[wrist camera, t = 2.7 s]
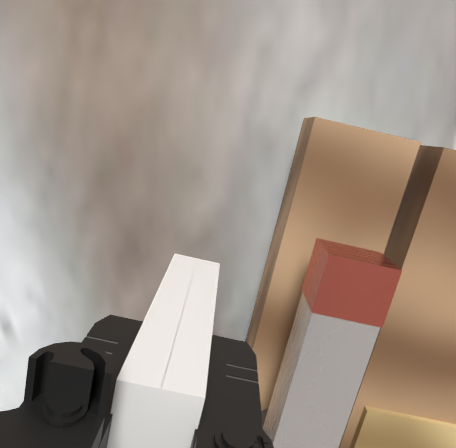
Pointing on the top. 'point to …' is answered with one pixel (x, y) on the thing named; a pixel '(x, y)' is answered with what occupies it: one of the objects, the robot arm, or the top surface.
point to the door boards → (392, 249)
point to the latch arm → (330, 344)
